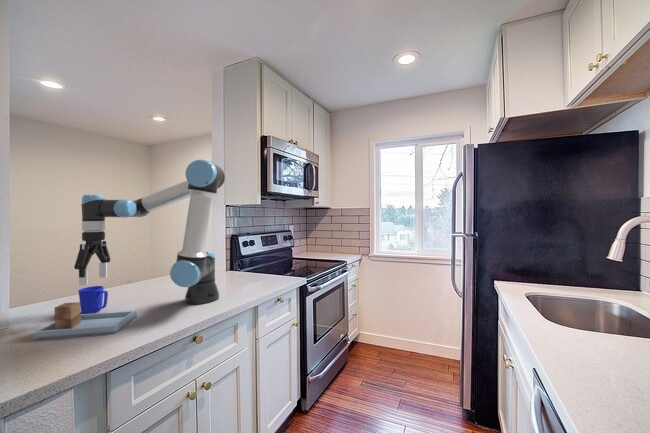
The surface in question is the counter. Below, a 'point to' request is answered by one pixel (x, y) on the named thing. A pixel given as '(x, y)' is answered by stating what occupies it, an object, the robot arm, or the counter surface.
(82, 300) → the mug
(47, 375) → the counter surface
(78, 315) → the walnut block
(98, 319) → the tray
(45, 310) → the counter surface
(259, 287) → the counter surface
